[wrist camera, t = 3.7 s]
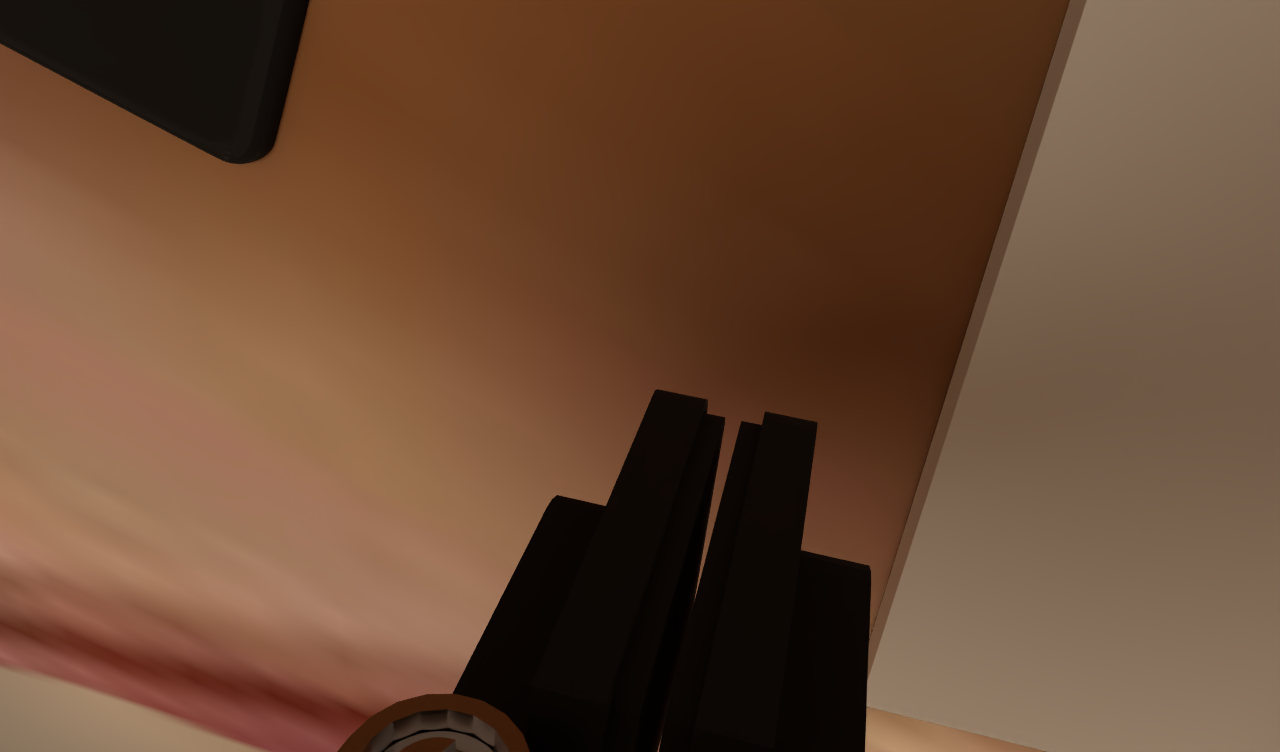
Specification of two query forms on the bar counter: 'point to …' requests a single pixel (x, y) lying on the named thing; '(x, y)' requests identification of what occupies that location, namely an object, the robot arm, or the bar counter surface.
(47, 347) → the bar counter surface
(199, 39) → the smartphone
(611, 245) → the bar counter surface
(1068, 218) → the plaque base
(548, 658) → the robot arm
